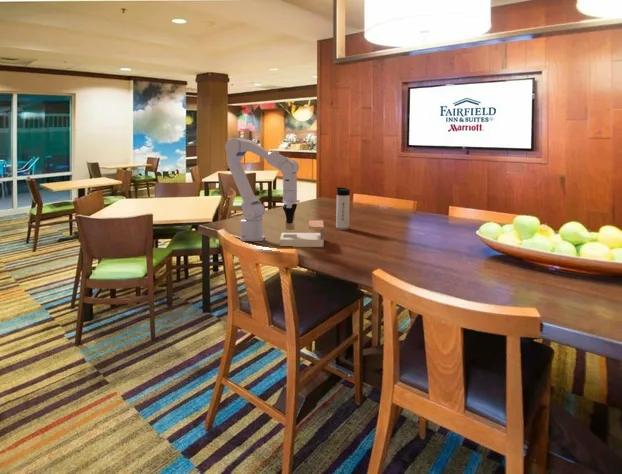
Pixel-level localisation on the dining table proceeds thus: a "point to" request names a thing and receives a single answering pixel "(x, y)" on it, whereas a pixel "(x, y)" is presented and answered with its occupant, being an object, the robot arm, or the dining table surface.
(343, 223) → the travel mug
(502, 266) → the dining table surface
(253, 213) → the robot arm
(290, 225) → the peg
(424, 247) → the dining table surface
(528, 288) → the dining table surface
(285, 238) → the socket block
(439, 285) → the dining table surface
